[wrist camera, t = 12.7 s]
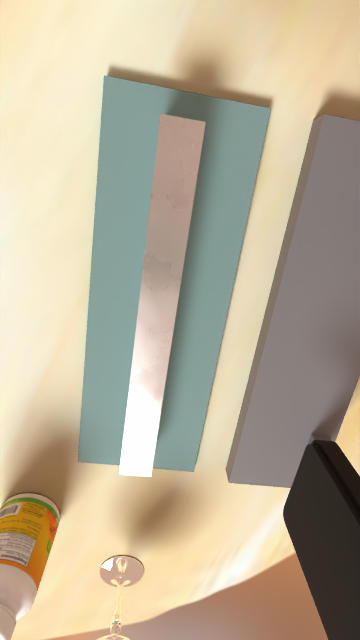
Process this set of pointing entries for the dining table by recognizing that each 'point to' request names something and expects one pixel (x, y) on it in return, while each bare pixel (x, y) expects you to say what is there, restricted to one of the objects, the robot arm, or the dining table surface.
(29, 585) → the supplement bottle
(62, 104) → the dining table surface
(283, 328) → the rail stand
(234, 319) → the dining table surface
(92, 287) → the teal mat
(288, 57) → the dining table surface
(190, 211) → the steel rail
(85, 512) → the dining table surface
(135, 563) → the wineglass
